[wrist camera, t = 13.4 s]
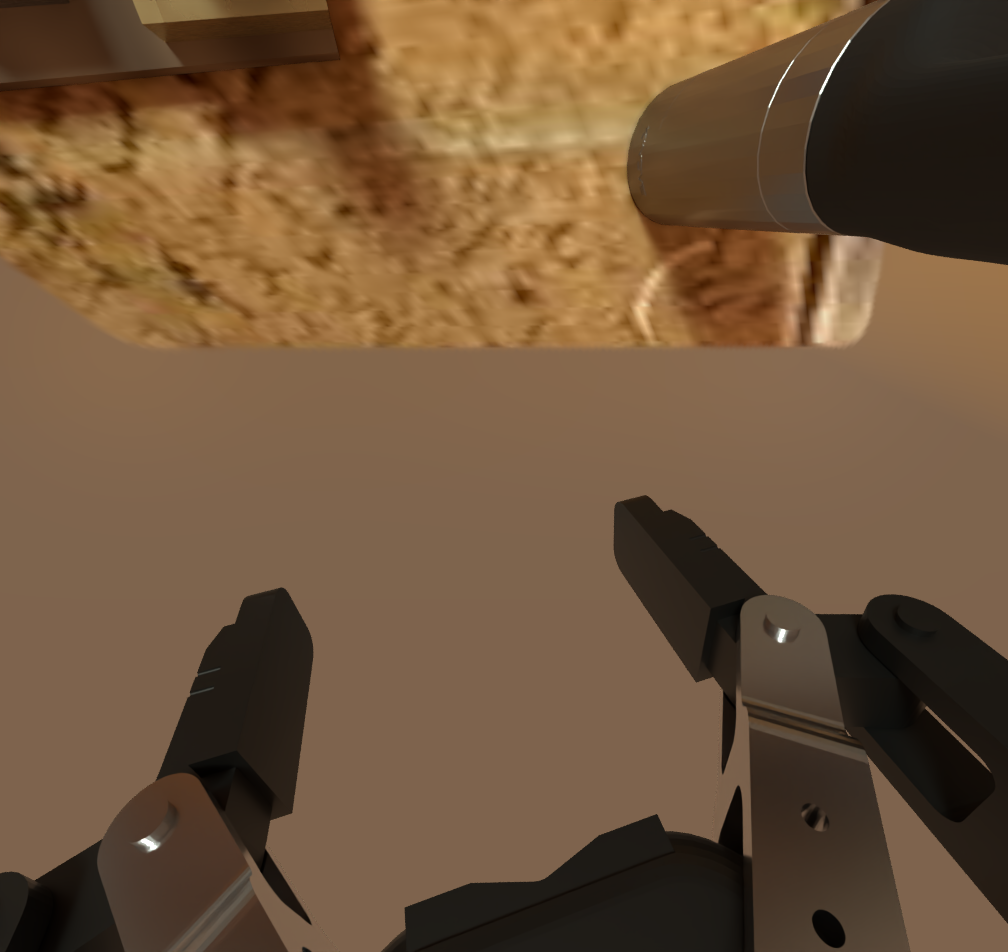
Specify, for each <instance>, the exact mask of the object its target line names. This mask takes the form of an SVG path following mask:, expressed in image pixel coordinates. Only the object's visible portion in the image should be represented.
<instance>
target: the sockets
mask: <svg viewBox="0 0 1008 952" xmlns="http://www.w3.org/2000/svg"><path fill="white" fill-rule="evenodd" d="M68 3H70V2H69V0H0V8H11V7H25V6H39V5H53V4H68ZM133 3H134V5H135V8H136V10H137V13H138V15H139V17H140V20H141V22H142V24H143V25H144V26H145V27H146V28H148V29H149V30H150V31H151V32H153V33H154V34H155V35H156V36H158V37H159V38H160V39H162V40H163V41H164V42H165V43H171V42H183V41H195V40H207V39H219V38H231V37H243V36H255V35H267V34H279V33H291V32H302V31H314V30H326V29H333V28H332V24H331V19H330V15H329V11H328V6H327V2H326V0H133Z"/></svg>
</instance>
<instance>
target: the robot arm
mask: <svg viewBox="0 0 1008 952" xmlns="http://www.w3.org/2000/svg"><path fill="white" fill-rule="evenodd" d="M627 171H628V182H629V186H630V191H631V194H632V196H633V199H634V201H635V203H636V205H637V206H638V208H639V209H640V210H641V212H642V213H643V214H644V215H645V216H647V217H648V218H649V219H650V220H652V221H654V222H657V223H659V224H664V225H676V226H691V227H703V228H720V229H737V230H754V231H770V232H787V233H809V234H826V235H843V236H860V237H869V238H873V239H877V240H880V241H883V242H886V243H889V244H892V245H896V246H899V247H902V248H905V249H909V250H912V251H916V252H921V253H925V254H930V255H936V256H943V257H949V258H957V259H966V260H974V261H982V262H990V263H997V264H1004V265H1008V0H878V1H875V2H873V3H871V4H868V5H866V6H863V7H861V8H858V9H856V10H854V11H851V12H849V13H847V14H845V15H842V16H840V17H838V18H835V19H833V20H830V21H828V22H825V23H823V24H820V25H818V26H816V27H813V28H811V29H808V30H806V31H803V32H801V33H799V34H796V35H794V36H791V37H789V38H786V39H784V40H781V41H779V42H777V43H774V44H772V45H769V46H767V47H764V48H762V49H760V50H757V51H755V52H752V53H750V54H747V55H745V56H743V57H740V58H738V59H735V60H733V61H730V62H728V63H725V64H723V65H721V66H718V67H716V68H713V69H710V70H708V71H705V72H703V73H701V74H698V75H696V76H694V77H691V78H689V79H686V80H684V81H682V82H679V83H677V84H675V85H672V86H670V87H668V88H667V89H666V90H664V91H663V92H661V93H660V94H659V95H658V96H657V97H656V98H655V99H654V100H653V101H652V102H651V103H650V104H649V105H648V107H647V108H646V110H645V111H644V113H643V114H642V116H641V118H640V119H639V121H638V124H637V126H636V128H635V131H634V133H633V136H632V140H631V143H630V147H629V153H628V162H627ZM614 554H615V558H616V561H617V564H618V567H619V569H620V570H621V572H622V574H623V575H624V577H625V578H626V580H627V581H628V583H629V584H630V585H631V587H632V589H633V590H634V592H635V593H636V594H637V596H638V597H639V599H640V600H641V602H642V603H643V605H644V606H645V608H646V609H647V611H648V612H649V614H650V615H651V616H652V618H653V620H654V621H655V623H656V624H657V625H658V627H659V628H660V630H661V631H662V633H663V634H664V636H665V637H666V639H667V640H668V642H669V643H670V645H671V646H672V647H673V649H674V650H675V652H676V653H677V655H678V656H679V658H680V659H681V661H682V662H683V664H684V665H685V667H686V668H687V670H688V671H689V672H690V674H691V676H692V677H693V678H694V680H695V681H696V682H699V681H702V680H705V679H708V678H711V677H714V678H715V680H716V681H717V682H718V684H719V685H720V687H721V692H720V709H719V711H720V712H719V745H718V746H719V747H718V779H717V791H716V799H715V806H714V815H713V828H712V841H711V840H709V839H706V838H703V837H699V836H696V835H692V834H688V833H681V832H673V831H665V830H664V828H663V826H662V824H661V821H660V819H659V817H658V815H657V814H656V815H653V816H650V817H648V818H645V819H642V820H640V821H637V822H634V823H631V824H629V825H626V826H623V827H621V828H618V829H615V830H613V831H610V832H607V833H604V834H602V835H599V836H598V837H597V838H595V839H594V840H593V841H592V842H590V843H589V844H588V845H587V846H585V847H584V848H583V849H582V850H580V851H579V852H578V853H577V854H576V855H574V856H573V857H572V858H570V859H569V860H568V861H567V862H566V863H564V864H563V865H562V866H561V867H560V868H558V869H557V870H556V871H554V872H553V873H552V874H551V875H549V876H548V877H547V878H545V879H543V880H541V881H536V882H498V883H470V884H467V885H464V886H462V887H459V888H456V889H453V890H451V891H448V892H446V893H443V894H440V895H437V896H435V897H432V898H429V899H427V900H424V901H421V902H418V903H416V904H413V905H410V906H408V907H405V923H406V924H405V926H406V929H405V930H404V931H403V932H401V933H400V934H399V935H398V936H397V937H396V938H395V939H394V940H393V941H392V942H390V943H389V945H388V946H387V947H385V949H383V950H382V952H910V947H909V943H908V938H907V934H906V929H905V925H904V920H903V916H902V911H901V907H900V902H899V897H898V893H897V889H896V884H895V879H894V875H893V870H892V866H891V861H890V857H889V852H888V848H887V843H886V838H885V834H884V829H883V825H882V821H881V816H880V811H879V807H878V803H877V798H876V794H875V789H874V784H873V780H872V775H871V771H870V766H869V762H868V758H867V755H868V757H869V758H870V759H871V760H872V761H873V763H874V764H875V765H876V766H877V767H878V769H879V770H880V771H881V772H882V773H883V775H884V776H885V777H886V778H887V779H888V780H889V782H890V783H891V784H892V785H893V787H894V788H895V789H896V790H897V791H898V792H899V794H900V795H901V796H902V797H903V799H904V800H905V801H906V802H907V803H908V805H909V806H910V807H911V808H912V809H913V811H914V812H915V813H916V814H917V815H918V816H919V818H920V819H921V820H922V821H923V822H924V824H925V825H926V826H927V827H928V829H929V830H930V831H931V832H932V833H933V835H935V837H936V838H937V839H938V840H939V842H940V843H941V844H942V845H943V846H944V848H945V849H946V850H947V851H948V852H949V854H950V855H951V856H952V857H953V858H954V859H955V861H956V862H957V863H958V864H959V866H960V867H961V868H962V869H963V870H964V872H965V873H966V874H967V875H968V876H969V877H970V879H971V880H972V881H973V882H974V884H975V885H976V886H977V887H978V888H979V890H980V891H981V892H982V893H983V894H984V896H985V897H986V898H987V899H988V900H989V902H990V903H991V904H992V905H993V906H994V907H995V909H996V910H997V911H998V912H999V913H1000V915H1001V916H1002V917H1003V918H1004V920H1005V921H1006V922H1007V923H1008V660H1007V659H1005V658H1004V657H1003V656H1001V655H1000V654H999V653H997V652H996V651H995V650H993V649H992V648H991V647H990V646H988V645H987V644H986V643H984V642H983V641H982V640H980V639H979V638H978V637H977V636H975V635H974V634H973V633H971V632H970V631H969V630H967V629H966V628H965V627H963V626H962V625H961V624H959V623H958V622H957V621H955V620H954V619H953V618H952V617H950V616H949V615H947V614H946V613H944V612H943V611H942V610H940V609H938V608H936V607H935V606H933V605H930V604H928V603H926V602H924V601H921V600H918V599H915V598H911V597H908V596H903V595H881V596H878V597H875V598H874V599H872V600H871V601H870V602H869V603H868V605H867V607H866V609H865V611H864V613H863V614H857V615H856V614H814V613H813V612H812V611H810V610H809V609H808V608H806V607H805V606H803V605H801V604H800V603H798V602H796V601H794V600H791V599H788V598H784V597H781V596H775V595H768V594H766V593H765V592H764V591H763V590H762V589H761V588H760V587H759V586H758V585H757V584H756V583H755V582H754V581H753V580H752V579H751V578H750V577H749V576H748V575H747V574H746V573H745V572H744V571H743V570H742V569H741V568H740V567H739V566H738V565H737V564H736V563H735V562H733V560H732V559H730V557H728V555H727V554H726V553H725V552H723V551H722V550H721V549H720V548H719V549H718V547H717V545H716V544H715V543H714V542H713V541H712V540H711V539H710V538H709V537H706V535H705V533H704V532H703V531H702V530H701V529H700V528H699V527H698V526H697V525H696V524H695V523H694V522H693V521H692V520H691V519H689V518H687V517H685V516H683V515H681V514H679V513H677V512H675V511H673V510H668V511H664V512H663V511H662V510H661V509H660V508H659V507H658V506H657V505H656V503H655V502H654V501H653V500H652V499H651V498H649V497H648V496H646V495H644V496H640V497H636V498H632V499H629V500H624V501H620V502H617V503H616V505H615V509H614ZM312 662H313V643H312V639H311V635H310V632H309V630H308V628H307V626H306V624H305V623H304V621H303V619H302V617H301V615H300V614H299V612H298V610H297V608H296V606H295V604H294V603H293V601H292V599H291V597H290V595H289V593H288V592H287V591H286V589H284V588H278V589H274V590H270V591H266V592H262V593H258V594H254V595H250V596H247V597H246V598H244V600H243V602H242V605H241V607H240V611H239V614H238V617H237V620H236V622H235V624H232V625H228V626H225V627H223V628H222V630H221V631H220V632H219V634H218V635H217V636H216V637H215V639H214V640H213V641H212V642H211V644H210V645H209V646H208V648H207V649H206V651H205V653H204V656H203V659H202V661H201V664H200V667H199V669H198V672H197V673H198V677H196V678H195V680H194V682H193V685H192V688H191V691H190V697H188V698H187V701H186V703H185V706H184V709H183V712H182V714H181V717H180V719H179V722H178V725H177V727H176V730H175V732H174V735H173V738H172V740H171V743H170V746H169V748H168V751H167V753H166V756H165V759H164V762H163V764H162V767H161V769H160V772H159V774H158V777H157V779H156V781H155V782H153V783H152V784H150V785H149V786H147V787H146V788H144V789H143V790H142V791H140V792H139V793H138V794H137V795H136V796H135V797H134V798H132V799H131V800H130V801H129V802H128V803H127V804H126V805H125V806H124V807H123V809H122V810H121V811H120V812H119V814H118V815H117V816H116V817H115V819H114V820H113V822H112V823H111V825H110V826H109V828H108V830H107V832H106V833H105V835H104V837H103V839H102V840H100V841H99V842H97V843H95V844H94V845H92V846H91V847H89V848H87V849H86V850H84V851H83V852H81V853H79V854H78V855H76V856H74V857H73V858H71V859H69V860H68V861H66V862H64V863H63V864H61V865H59V866H58V867H56V868H55V869H53V870H52V871H49V872H48V873H46V874H45V875H43V876H41V877H40V878H38V879H36V880H35V881H34V880H32V879H30V878H28V877H26V876H24V875H22V874H20V873H17V872H4V873H0V952H340V951H339V950H338V949H337V948H336V946H335V945H334V944H333V943H332V942H331V940H330V939H329V938H328V937H327V935H326V934H325V933H324V931H323V930H322V929H321V927H320V926H319V924H318V923H317V921H316V920H315V918H314V917H313V915H312V913H311V912H310V911H309V909H308V907H307V906H306V904H305V903H304V901H303V899H302V898H301V896H300V895H299V893H298V892H297V890H296V888H295V887H294V885H293V884H292V882H291V881H290V879H289V877H288V876H287V874H286V873H285V871H284V870H283V868H282V866H281V865H280V863H279V862H278V860H277V859H276V857H275V856H274V854H273V852H272V851H271V849H270V848H269V847H268V845H267V844H266V841H267V835H268V829H269V824H270V820H273V819H276V818H279V817H282V816H285V815H288V814H291V813H292V810H293V803H294V795H295V788H296V781H297V773H298V766H299V758H300V751H301V744H302V736H303V729H304V721H305V714H306V707H307V699H308V692H309V685H310V677H311V670H312ZM926 706H928V707H929V708H930V709H931V710H932V711H933V712H934V713H935V714H936V715H937V716H938V717H939V718H940V719H941V720H942V721H943V722H944V723H945V724H946V725H947V726H949V728H950V729H952V730H953V731H954V732H955V733H956V734H957V735H958V736H959V737H960V738H961V739H962V740H963V741H964V742H965V743H966V744H967V745H968V746H969V747H970V748H971V749H972V750H973V751H974V752H975V753H976V754H978V756H979V757H980V758H981V759H982V760H983V761H984V762H985V763H986V765H987V767H988V768H989V769H990V771H991V772H990V771H989V770H988V769H986V768H985V767H984V766H983V765H982V764H981V763H980V762H979V761H978V760H977V759H976V758H975V757H974V756H973V755H972V754H971V753H970V752H969V751H968V750H967V749H966V748H965V747H964V746H963V745H962V744H961V743H960V742H959V741H958V740H957V739H956V738H955V737H954V736H953V735H952V734H951V733H950V732H948V731H947V730H946V729H945V728H944V727H943V726H942V725H941V724H940V723H939V722H938V721H937V720H936V719H935V718H934V717H933V716H932V715H931V714H930V713H929V712H928V711H927V710H926V709H925V707H926ZM845 729H846V730H847V732H849V734H850V735H851V736H852V737H851V736H848V734H847V733H846V730H845ZM866 754H867V755H866Z"/></svg>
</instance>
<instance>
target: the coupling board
mask: <svg viewBox="0 0 1008 952" xmlns="http://www.w3.org/2000/svg"><path fill="white" fill-rule="evenodd" d="M69 2H70V3H68V4H53V5H39V6H25V7H11V8H0V91H7V90H18V89H28V88H39V87H50V86H60V85H71V84H82V83H92V82H103V81H114V80H124V79H135V78H146V77H156V76H167V75H178V74H189V73H199V72H210V71H221V70H231V69H242V68H253V67H263V66H274V65H285V64H295V63H306V62H317V61H327V60H338V59H340V58H339V53H338V49H337V45H336V41H335V37H334V32H333V29H326V30H314V31H302V32H291V33H279V34H267V35H255V36H243V37H231V38H219V39H207V40H195V41H183V42H171V43H165V42H164V41H163V40H162V39H160V38H159V37H158V36H156V35H155V34H154V33H153V32H151V31H150V30H149V29H148V28H146V27H145V26H144V25H143V24H142V22H141V20H140V17H139V15H138V13H137V10H136V8H135V5H134V3H133V0H69Z"/></svg>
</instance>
